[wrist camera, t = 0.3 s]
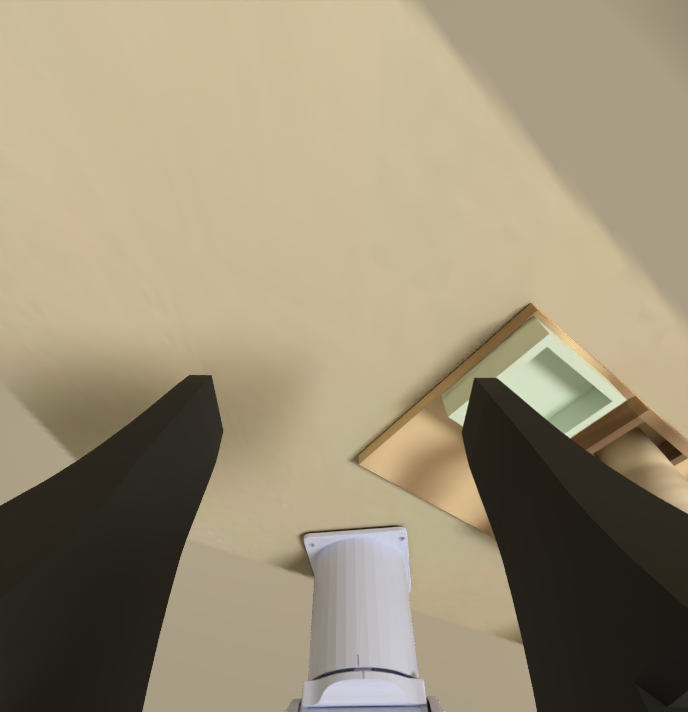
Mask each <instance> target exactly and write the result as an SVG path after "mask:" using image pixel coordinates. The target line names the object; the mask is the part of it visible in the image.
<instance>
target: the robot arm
mask: <svg viewBox="0 0 688 712" xmlns="http://www.w3.org/2000/svg"><path fill="white" fill-rule="evenodd" d="M222 434H223V427H222V422H221V418H220V413H219V408H218V404H217V399H216V394H215V389H214V385H213V380H212V375H189V376H188V377H186V378H185V379H184V380H182V381H181V382H180V383H179V384H177V385H176V386H175V387H174V388H173V389H171V390H170V391H169V392H168V393H166V394H165V395H164V396H163V397H162V398H160V399H159V400H158V401H157V402H156V403H154V404H153V405H152V406H151V407H149V408H148V409H147V410H146V411H144V412H143V413H142V414H141V415H139V416H138V417H137V418H136V419H134V420H133V421H132V422H131V423H129V424H128V425H127V426H125V427H124V428H123V429H121V430H120V431H119V432H117V433H116V434H114V435H113V436H112V437H110V438H109V439H108V440H106V441H105V442H104V443H102V444H101V445H100V446H98V447H97V448H95V449H94V450H93V451H91V452H90V453H88V454H87V455H85V456H84V457H82V458H81V459H79V460H78V461H76V462H75V463H73V464H71V465H70V466H68V467H67V468H65V469H63V470H62V471H60V472H59V473H57V474H56V475H54V476H52V477H51V478H49V479H47V480H46V481H44V482H42V483H40V484H39V485H37V486H35V487H33V488H31V489H30V490H28V491H26V492H24V493H22V494H21V495H19V496H17V497H15V498H13V499H12V500H10V501H8V502H6V503H4V504H3V505H1V506H0V712H142V710H143V706H144V700H145V696H146V691H147V687H148V682H149V678H150V673H151V669H152V665H153V661H154V656H155V652H156V648H157V643H158V639H159V635H160V631H161V627H162V623H163V619H164V616H165V612H166V608H167V604H168V600H169V596H170V592H171V589H172V585H173V582H174V578H175V574H176V571H177V567H178V564H179V560H180V556H181V553H182V550H183V548H184V545H185V542H186V539H187V536H188V534H189V531H190V528H191V526H192V523H193V521H194V518H195V516H196V513H197V511H198V508H199V505H200V503H201V500H202V498H203V495H204V493H205V490H206V487H207V485H208V482H209V479H210V477H211V474H212V472H213V469H214V466H215V463H216V459H217V456H218V452H219V447H220V443H221V439H222ZM462 437H463V442H464V447H465V452H466V456H467V460H468V464H469V468H470V470H471V473H472V476H473V479H474V482H475V484H476V487H477V490H478V493H479V495H480V498H481V501H482V503H483V506H484V509H485V512H486V514H487V517H488V520H489V522H490V525H491V528H492V530H493V533H494V536H495V539H496V541H497V544H498V547H499V551H500V554H501V557H502V560H503V564H504V568H505V572H506V575H507V579H508V583H509V587H510V591H511V595H512V599H513V603H514V607H515V611H516V615H517V620H518V624H519V628H520V632H521V636H522V641H523V645H524V650H525V655H526V659H527V664H528V669H529V673H530V678H531V682H532V687H533V692H534V697H535V702H536V708H537V712H688V514H687V513H686V512H684V511H682V510H680V509H678V508H677V507H675V506H673V505H671V504H670V503H668V502H666V501H664V500H663V499H661V498H659V497H657V496H655V495H654V494H652V493H650V492H649V491H647V490H645V489H644V488H642V487H640V486H639V485H637V484H636V483H634V482H632V481H631V480H629V479H628V478H626V477H625V476H623V475H622V474H620V473H619V472H617V471H615V470H614V469H612V468H611V467H609V466H608V465H606V464H605V463H603V462H602V461H600V460H599V459H598V458H596V457H595V456H593V455H592V454H591V453H589V452H588V451H587V450H585V449H584V448H582V447H581V446H580V445H578V444H577V443H576V442H574V441H573V440H572V439H570V438H569V437H568V436H566V435H565V434H564V433H563V432H561V431H560V430H559V429H558V428H556V427H555V426H554V425H553V424H551V423H550V422H549V421H548V420H546V419H545V418H544V417H543V416H542V415H540V414H539V413H538V412H537V411H536V410H534V409H533V408H532V407H531V406H530V405H529V404H527V403H526V402H525V401H524V400H523V399H522V398H520V397H519V396H518V395H517V394H516V393H514V392H513V391H512V390H511V389H510V388H509V387H507V386H506V385H505V384H504V383H503V382H501V381H500V380H499V379H497V378H474V381H473V385H472V390H471V394H470V398H469V403H468V407H467V411H466V415H465V420H464V424H463V428H462ZM304 544H305V548H306V551H307V554H308V557H309V560H310V563H311V566H312V569H313V573H314V576H315V578H314V594H313V610H312V626H311V642H310V658H309V675H308V681H304V682H303V688H302V699H293V700H292V701H291V703H290V705H289V706H288V708H287V709H286V710H285V711H284V712H447V711H446V710H445V709H444V707H443V706H442V705H441V704H440V703H439V701H438V699H437V698H436V697H434V696H427V697H426V693H425V686H424V680H423V679H419V674H418V666H417V658H416V650H415V642H414V634H413V626H412V618H411V611H410V603H409V595H408V594H409V593H410V592H411V581H410V567H409V553H408V539H407V530H406V528H404V527H389V528H376V529H362V530H349V531H336V532H322V533H309V534H306V535H305V536H304Z"/></svg>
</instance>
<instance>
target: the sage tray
mask: <svg viewBox="0 0 688 712" xmlns="http://www.w3.org/2000/svg"><path fill="white" fill-rule="evenodd" d="M474 378H497V379H499V380H500V381H501V382H503V383H504V384H505V385H506V386H507V387H509V388H510V389H511V390H512V391H513V392H514V393H516V394H517V395H518V396H519V397H520V398H522V399H523V400H524V401H525V402H526V403H527V404H529V405H530V406H531V407H532V408H533V409H534V410H536V411H537V412H538V413H539V414H540V415H542V416H543V417H544V418H545V419H546V420H548V421H549V422H550V423H551V424H553V425H554V426H555V427H556V428H558V429H559V430H560V431H561V432H563V433H564V434H565V435H566V436H568V437H569V438H571V437H572V436H574V435H575V434H577V433H578V432H580V431H581V430H583V429H584V428H586V427H587V426H589V425H590V424H592V423H593V422H595V421H596V420H598V419H599V418H601V417H602V416H604V415H605V414H607V413H608V412H610V411H611V410H613V409H614V408H616V407H617V406H619V405H620V404H622V403H623V402H625V401H626V399H625V397H624V396H623V395H622V394H621V393H620V392H619V391H618V390H617V389H616V388H615V387H614V386H613V384H612V383H611V382H610V381H609V380H608V379H607V378H606V377H605V376H603V375H602V374H601V373H600V372H599V371H598V370H596V369H595V368H594V367H593V366H592V365H591V364H589V363H588V362H587V361H586V360H585V359H584V358H582V357H581V356H580V355H579V354H578V353H577V352H576V351H574V350H573V349H572V348H571V347H570V346H569V345H567V344H566V343H565V342H564V341H563V340H562V339H560V338H559V337H558V336H557V335H556V334H555V333H553V332H552V331H551V330H550V329H549V328H548V327H547V326H545V325H544V324H543V323H542V322H541V321H540V320H538V319H537V318H536V317H535V316H533V317H532V318H530V319H529V320H528V321H527V322H526V323H525V324H523V325H522V326H521V327H520V328H519V329H518V330H516V331H515V332H514V333H513V334H512V335H511V336H509V337H508V338H507V339H506V340H505V341H504V342H502V343H501V344H500V345H499V346H498V347H497V348H496V349H494V350H493V351H492V352H491V353H490V354H489V355H487V356H486V357H485V358H484V359H483V360H482V361H480V362H479V363H478V364H477V365H476V366H475V367H473V368H472V369H471V370H470V371H469V372H468V373H467V374H465V375H464V376H463V377H462V378H461V379H460V380H458V381H457V382H456V383H455V384H454V385H453V386H451V387H450V388H449V389H448V390H447V391H446V392H444V393H443V394H442V395H441V396H442V399H443V403H444V406H445V409H446V412H447V415H448V417H449V418H451V419H452V420H454V421H455V422H457V423H458V424H460V425H461V426H463V424H464V420H465V415H466V411H467V407H468V403H469V398H470V394H471V390H472V385H473V381H474Z"/></svg>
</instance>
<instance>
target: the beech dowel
mask: <svg viewBox="0 0 688 712" xmlns="http://www.w3.org/2000/svg"><path fill="white" fill-rule="evenodd" d="M594 454H595V456H596V457H597V458H598V459H599V460H600V461H602V462H603V463H605V464H606V465H608V466H609V467H611V468H612V469H614V470H615V471H617V472H619V473H620V474H622V475H623V476H625V477H626V478H628V479H629V480H631V481H632V482H634V483H636V484H637V485H639V486H640V487H642V488H644V489H645V490H647V491H649V492H650V493H652V494H654V495H655V496H657V497H659V498H661V499H663V500H664V501H666V502H668V503H670V504H671V505H673V506H675V507H677V508H678V509H680V510H682V511H684V512H686V513H687V514H688V481H687V480H686V479H685V478H684V477H683V476H682V475H681V473H680V472H679V471H678V470H677V469H676V468H675V467H674V466H673V464H672V463H671V462H670V461H669V460H668V459H667V458H666V456H665V455H664V454H663V453H662V452H661V451H660V450H659V449H658V447H657V446H656V445H655V444H654V443H653V442H652V441H651V440H650V438H649V437H648V436H647V435H646V434H645V433H644V432H643V431H642V430H641V429H640V428H638V427H635V428H633V429H631V430H630V431H628V432H627V433H625V434H624V435H622V436H620V437H619V438H617V439H616V440H614V441H612V442H611V443H609V444H608V445H606V446H604V447H603V448H601V449H600V450H598V451H596V452H595V453H594Z"/></svg>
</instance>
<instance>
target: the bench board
mask: <svg viewBox="0 0 688 712" xmlns="http://www.w3.org/2000/svg"><path fill="white" fill-rule="evenodd" d="M533 316H535V317H536V318H537V319H538V320H540V321H541V322H542V323H543V324H544V325H545V326H547V327H548V328H549V329H550V330H551V331H552V332H553V333H555V334H556V335H557V336H558V337H559V338H560V339H562V340H563V341H564V342H565V343H566V344H567V345H569V346H570V347H571V348H572V349H573V350H574V351H576V352H577V353H578V354H579V355H580V356H581V357H582V358H584V359H585V360H586V361H587V362H588V363H589V364H591V365H592V366H593V367H594V368H595V369H596V370H598V371H599V372H600V373H601V374H602V375H603V376H605V377H606V378H607V379H608V380H609V381H610V382H611V383H612V384H613V386H614V387H615V388H616V389H617V390H618V391H619V392H620V393H621V394H622V395H623V396H624V397H625V399H626V401H625V402H623V403H622V404H620V405H619V406H617V407H616V408H614V409H613V410H611V411H610V412H608V413H607V414H605V415H604V416H602V417H601V418H599V419H598V420H596V421H595V422H593V423H592V424H590V425H589V426H587V427H586V428H584V429H583V430H581V431H580V432H578V433H577V434H575V435H574V436H572V437H571V438H570V439H572V440H573V441H574V442H576V443H577V444H578V445H580V446H581V447H582V448H584V449H585V450H587V451H588V452H589V453H591V454H592V455H593V456H595V454H594V453H595V452H596V451H598V450H600V449H601V448H603V447H604V446H606V445H608V444H609V443H611V442H612V441H614V440H616V439H617V438H619V437H620V436H622V435H624V434H625V433H627V432H628V431H630V430H631V429H633V428H635V427H638V428H640V429H641V430H642V431H643V432H644V433H645V434H646V435H647V436H648V437H649V438H650V440H651V441H652V442H653V443H654V444H655V445H656V446H657V447H658V449H659V450H660V451H661V452H662V453H663V454H664V455H665V456H666V458H667V459H668V460H669V461H670V462H671V463H672V464H673V466H674V467H675V468H676V469H677V470H678V471H679V472H680V473H681V475H682V476H683V477H684V478H685V479H686V480H687V481H688V440H687V439H686V438H685V437H684V436H682V435H681V434H680V433H679V432H678V431H677V430H676V429H674V428H673V427H672V426H671V425H670V424H669V423H668V422H666V421H665V420H664V419H663V418H662V417H661V416H660V415H658V414H657V413H656V412H655V411H654V410H653V409H652V408H650V407H649V406H648V405H647V404H646V403H645V402H644V401H642V400H641V399H640V398H639V397H638V396H637V395H636V394H634V393H633V392H632V391H631V390H630V389H629V388H628V387H626V386H625V385H624V384H623V383H622V382H621V381H620V380H618V379H617V378H616V377H615V376H614V375H613V374H612V373H610V372H609V371H608V370H607V369H606V368H605V367H604V366H602V365H601V364H600V363H599V362H598V361H597V360H596V359H594V358H593V357H592V356H591V355H590V354H589V353H588V352H587V351H585V350H584V349H583V348H582V347H581V346H580V345H579V344H577V343H576V342H575V341H574V340H573V339H572V338H571V337H569V336H568V335H567V334H566V333H565V332H564V331H563V330H561V329H560V328H559V327H558V326H557V325H556V324H555V323H553V322H552V321H551V320H550V319H549V318H548V317H547V316H545V315H544V314H543V313H542V312H541V311H540V310H539V309H537V308H536V307H535V306H534V305H533V304H532V303H531V304H529V305H528V306H527V307H526V308H525V309H524V310H523V311H521V312H520V313H519V314H518V315H517V316H516V317H515V318H514V319H512V320H511V321H510V322H509V323H508V324H507V325H506V326H504V327H503V328H502V329H501V330H500V331H499V332H498V333H497V334H495V335H494V336H493V337H492V338H491V339H490V340H489V341H487V342H486V343H485V344H484V345H483V346H482V347H481V348H480V349H478V350H477V351H476V352H475V353H474V354H473V355H472V356H470V357H469V358H468V359H467V360H466V361H465V362H464V363H462V364H461V365H460V366H459V367H458V368H457V369H456V370H455V371H453V372H452V373H451V374H450V375H449V376H448V377H447V378H445V379H444V380H443V381H442V382H441V383H440V384H439V385H438V386H436V387H435V388H434V389H433V390H432V391H431V392H430V393H428V394H427V395H426V396H425V397H424V398H423V399H422V400H421V401H419V402H418V403H417V404H416V405H415V406H414V407H413V408H411V409H410V410H409V411H408V412H407V413H406V414H405V415H404V416H402V417H401V418H400V419H399V420H398V421H397V422H396V423H394V424H393V425H392V426H391V427H390V428H389V429H388V430H387V431H385V432H384V433H383V434H382V435H381V436H380V437H379V438H377V439H376V440H375V441H374V442H373V443H372V444H371V445H370V446H368V447H367V448H366V449H365V450H364V451H363V452H362V453H360V454H359V465H361V466H363V467H364V468H366V469H368V470H370V471H372V472H374V473H376V474H377V475H379V476H381V477H383V478H385V479H387V480H389V481H390V482H392V483H394V484H396V485H398V486H400V487H402V488H403V489H405V490H407V491H409V492H411V493H413V494H414V495H416V496H418V497H420V498H422V499H424V500H426V501H427V502H429V503H431V504H433V505H435V506H437V507H439V508H440V509H442V510H444V511H446V512H448V513H450V514H452V515H453V516H455V517H457V518H459V519H461V520H463V521H465V522H466V523H468V524H470V525H472V526H474V527H476V528H478V529H479V530H481V531H483V532H485V533H487V534H489V535H491V536H492V537H494V538H495V536H494V533H493V530H492V528H491V525H490V522H489V520H488V517H487V514H486V512H485V509H484V506H483V503H482V501H481V498H480V495H479V493H478V490H477V487H476V484H475V482H474V479H473V476H472V473H471V470H470V468H469V464H468V460H467V456H466V452H465V447H464V442H463V437H462V428H463V426H461V425H460V424H458V423H457V422H455V421H454V420H452V419H451V418H449V417H448V415H447V412H446V409H445V406H444V403H443V399H442V396H441V395H442V394H443V393H444V392H446V391H447V390H448V389H449V388H450V387H451V386H453V385H454V384H455V383H456V382H457V381H458V380H460V379H461V378H462V377H463V376H464V375H465V374H467V373H468V372H469V371H470V370H471V369H472V368H473V367H475V366H476V365H477V364H478V363H479V362H480V361H482V360H483V359H484V358H485V357H486V356H487V355H489V354H490V353H491V352H492V351H493V350H494V349H496V348H497V347H498V346H499V345H500V344H501V343H502V342H504V341H505V340H506V339H507V338H508V337H509V336H511V335H512V334H513V333H514V332H515V331H516V330H518V329H519V328H520V327H521V326H522V325H523V324H525V323H526V322H527V321H528V320H529V319H530V318H532V317H533ZM595 457H596V456H595ZM596 458H597V457H596Z"/></svg>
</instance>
